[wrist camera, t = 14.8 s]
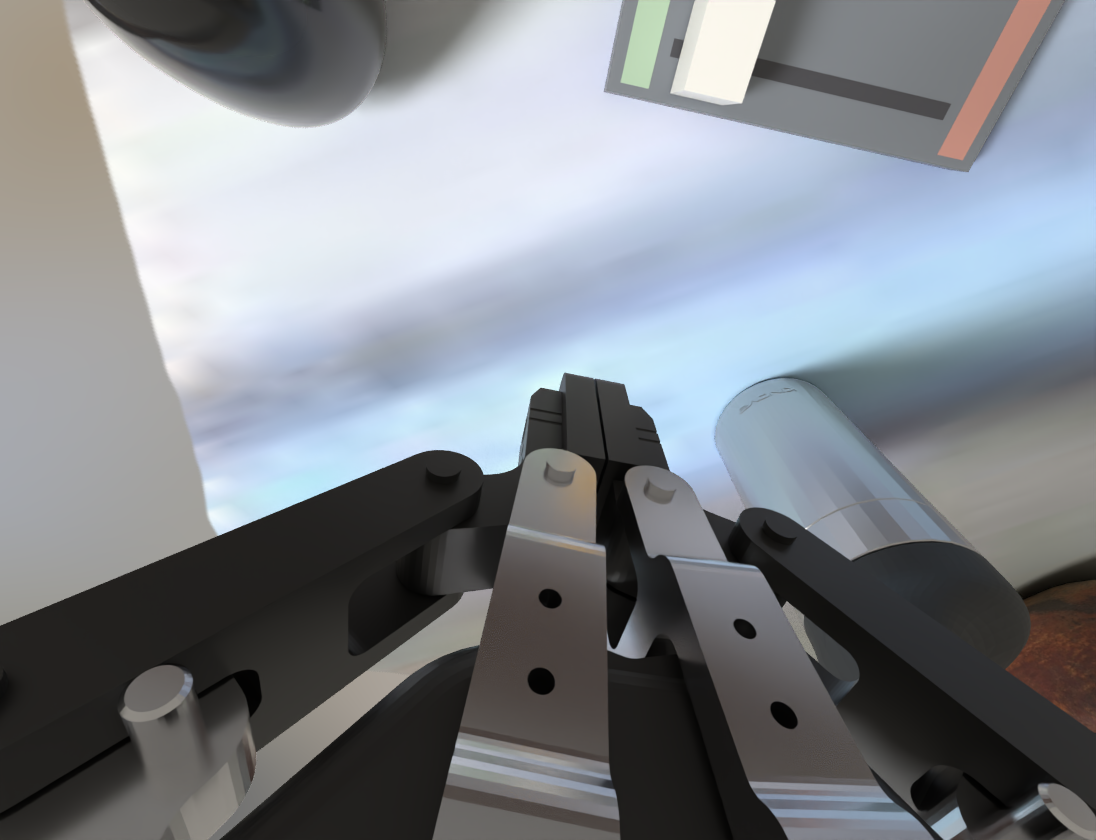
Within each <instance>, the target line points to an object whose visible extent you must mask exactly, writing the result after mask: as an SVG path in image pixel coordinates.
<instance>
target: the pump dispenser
mask: <svg viewBox="0 0 1096 840" xmlns="http://www.w3.org/2000/svg"><path fill="white" fill-rule="evenodd" d="M83 1H84V2H85V4H86V5H87V6H88V7H89V9H90V10H91V11H92V12H93V13H94V14H95V15H96V17H97V18H98V19H99V20H100V21H101V22H102V23H103V24H104V25H105V26H106V27H107V28H108V29H109V30H110V31H111V32H112V33H113V34H114V35H115V36H116V37H117V38H119V39H120V40H121V41H122V42H123V43H124V44H125V45H127V46H128V47H129V48H130V49H131V50H133V51H134V52H135V53H136V54H138V55H139V56H140V57H141V58H143V59H144V60H145V61H147V62H148V63H150V64H151V65H152V66H154V67H155V68H157V69H158V70H160V71H161V72H163V73H164V74H166V75H167V76H169V77H170V78H172V79H174V80H175V81H177V82H179V83H180V84H182V85H184V86H185V87H187V88H189V89H190V90H192V91H194V92H196V93H197V94H199V95H201V96H203V97H205V98H207V99H209V100H211V101H213V102H215V103H217V104H219V105H221V106H223V107H225V108H227V109H230V110H232V111H234V112H237V113H240V114H242V115H245V116H248V117H251V118H254V119H257V120H260V121H264V122H267V123H271V124H275V125H280V126H285V127H294V128H312V127H320V126H325V125H328V124H331V123H334V122H337V121H339V120H341V119H343V118H344V117H346V116H348V115H349V114H350V113H352V112H353V111H354V110H355V109H356V108H357V107H358V106H359V105H360V104H361V103H362V102H363V101H364V100H365V98H366V97H367V96H368V94H369V93H370V91H371V90H372V88H373V86H374V84H375V82H376V80H377V77H378V75H379V72H380V69H381V66H382V62H383V58H384V53H385V46H386V33H387V22H386V9H385V2H384V0H83Z"/></svg>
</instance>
